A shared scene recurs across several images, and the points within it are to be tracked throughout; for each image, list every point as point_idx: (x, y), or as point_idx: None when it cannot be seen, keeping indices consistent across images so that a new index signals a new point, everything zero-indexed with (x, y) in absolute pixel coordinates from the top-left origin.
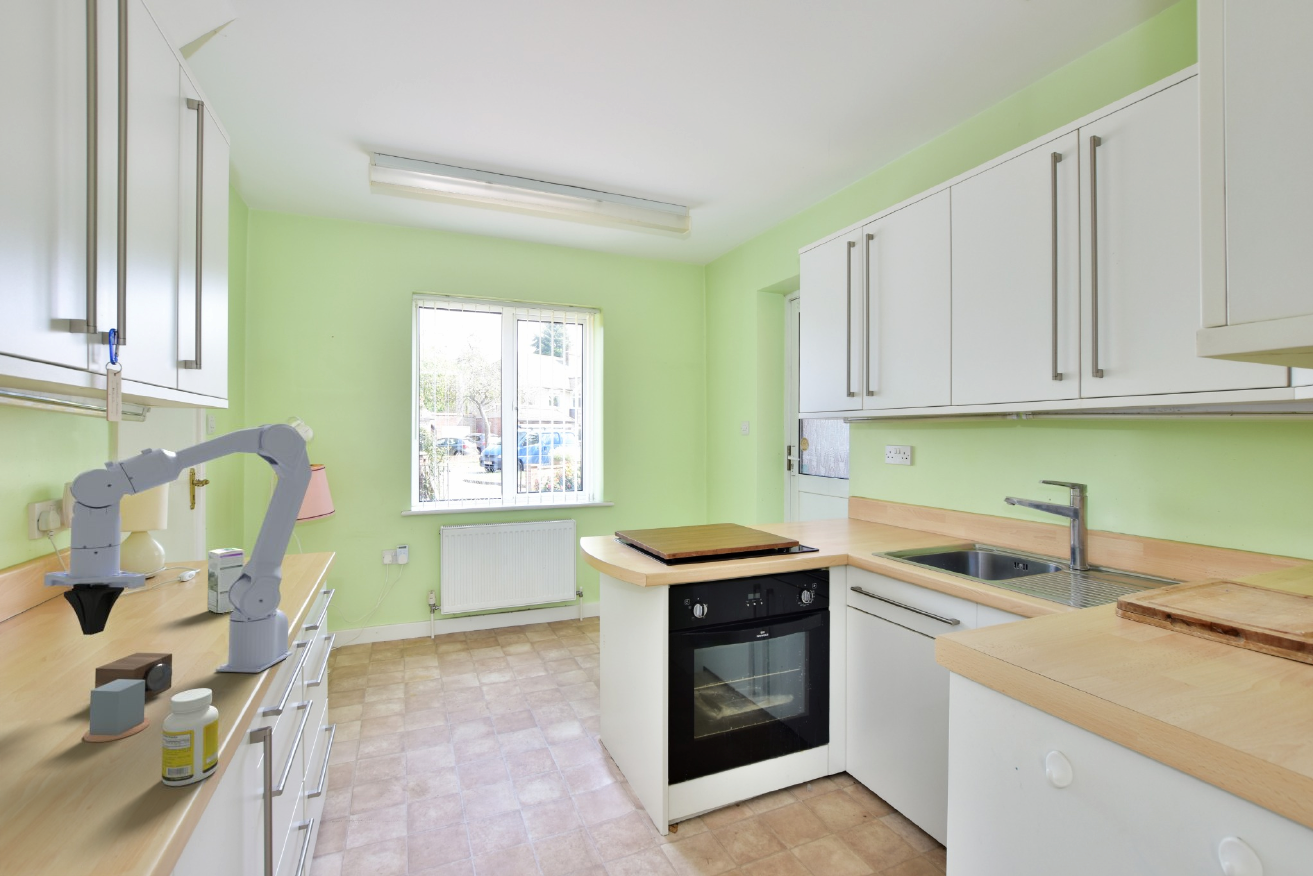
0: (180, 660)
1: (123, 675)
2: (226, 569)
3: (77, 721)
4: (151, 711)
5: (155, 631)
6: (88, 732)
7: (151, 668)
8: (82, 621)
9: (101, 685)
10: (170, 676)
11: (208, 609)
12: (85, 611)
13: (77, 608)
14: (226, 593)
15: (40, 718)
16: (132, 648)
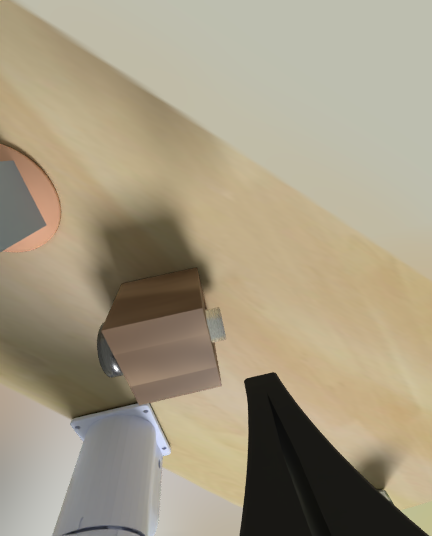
0: None
1: (130, 315)
2: None
3: (139, 208)
4: (55, 278)
5: (390, 441)
6: (30, 167)
7: (110, 354)
8: (288, 417)
9: (185, 289)
10: None
11: (383, 492)
12: (285, 477)
13: (338, 485)
14: None
15: (227, 197)
16: (367, 405)
